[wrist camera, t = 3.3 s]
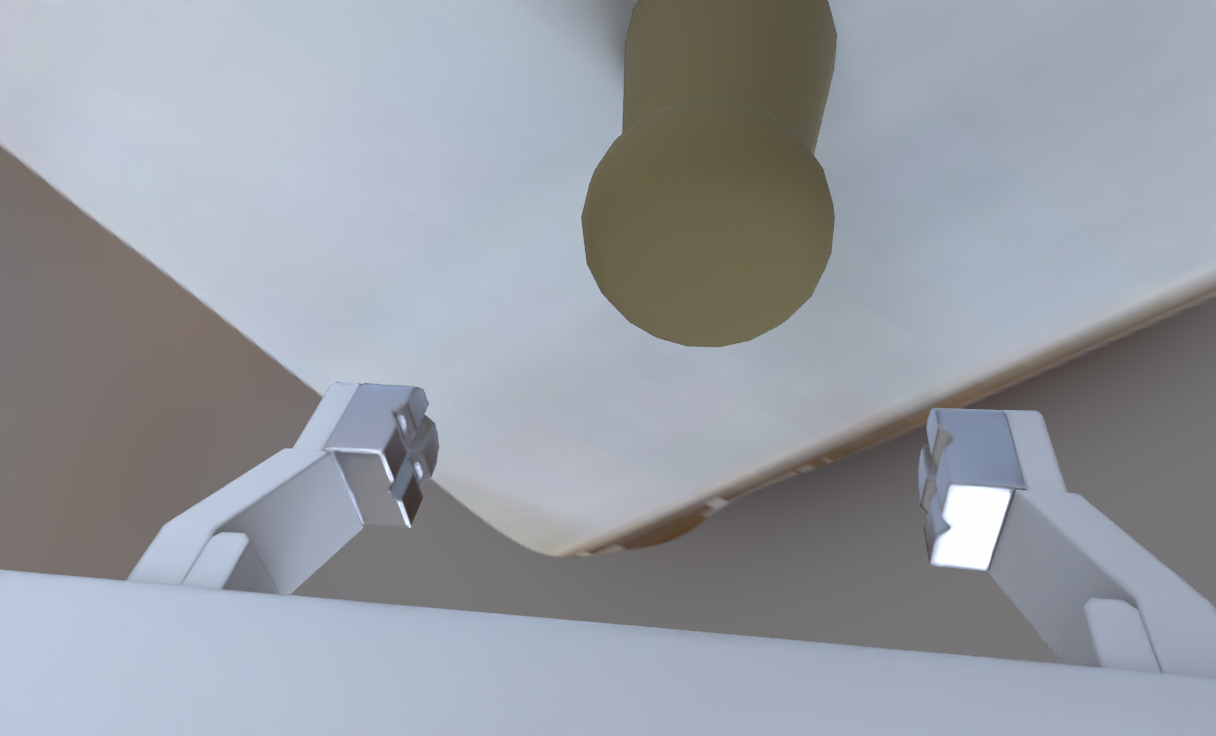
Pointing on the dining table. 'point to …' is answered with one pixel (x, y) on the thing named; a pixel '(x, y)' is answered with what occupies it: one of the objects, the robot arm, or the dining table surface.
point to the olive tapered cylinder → (715, 170)
